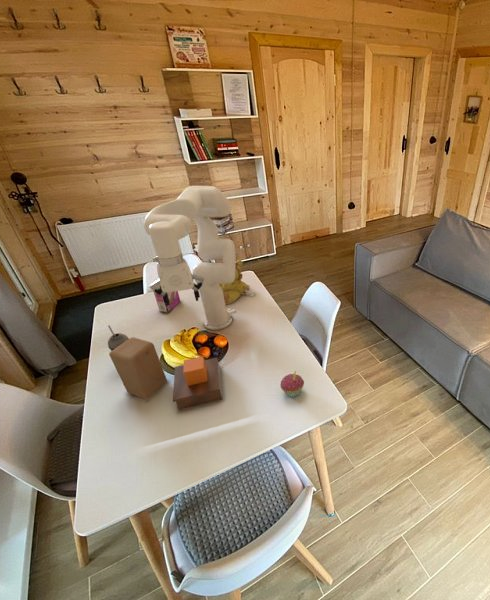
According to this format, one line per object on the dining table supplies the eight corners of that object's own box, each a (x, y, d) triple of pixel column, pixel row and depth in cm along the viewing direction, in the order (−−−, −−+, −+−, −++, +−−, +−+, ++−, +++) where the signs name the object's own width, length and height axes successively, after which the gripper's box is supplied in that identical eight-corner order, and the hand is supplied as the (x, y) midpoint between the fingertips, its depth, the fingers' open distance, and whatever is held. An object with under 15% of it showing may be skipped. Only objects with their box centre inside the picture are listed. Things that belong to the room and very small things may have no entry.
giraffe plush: (212, 286, 190) (205, 256, 179) (255, 284, 193) (251, 254, 183) (206, 306, 173) (197, 273, 162) (253, 303, 177) (248, 271, 166)
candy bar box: (168, 313, 167) (159, 284, 158) (159, 312, 168) (149, 283, 159) (181, 301, 176) (173, 273, 168) (172, 300, 177) (164, 272, 168)
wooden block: (168, 382, 129) (153, 341, 118) (147, 401, 121) (129, 360, 110) (148, 375, 131) (132, 335, 121) (126, 393, 123) (106, 352, 113)
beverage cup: (130, 373, 132) (112, 333, 121) (114, 370, 133) (94, 330, 123) (143, 360, 138) (127, 321, 127) (128, 357, 139) (110, 319, 129)
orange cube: (207, 381, 122) (203, 368, 118) (187, 385, 120) (183, 372, 116) (206, 369, 127) (203, 356, 123) (188, 373, 125) (183, 360, 121)
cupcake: (308, 388, 128) (307, 365, 122) (296, 403, 122) (294, 380, 115) (289, 380, 131) (287, 357, 125) (276, 395, 125) (273, 372, 118)
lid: (173, 402, 114) (172, 400, 114) (175, 368, 128) (175, 366, 128) (220, 390, 119) (219, 388, 119) (217, 358, 133) (217, 357, 132)
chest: (179, 411, 117) (175, 401, 115) (181, 377, 131) (177, 367, 128) (222, 400, 122) (220, 390, 119) (219, 368, 136) (217, 359, 133)
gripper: (140, 267, 107) (155, 311, 116) (198, 260, 112) (208, 302, 122) (143, 257, 113) (157, 300, 122) (198, 251, 118) (208, 292, 128)
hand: (183, 301), depth 122 cm, fingers open, 9 cm apart
